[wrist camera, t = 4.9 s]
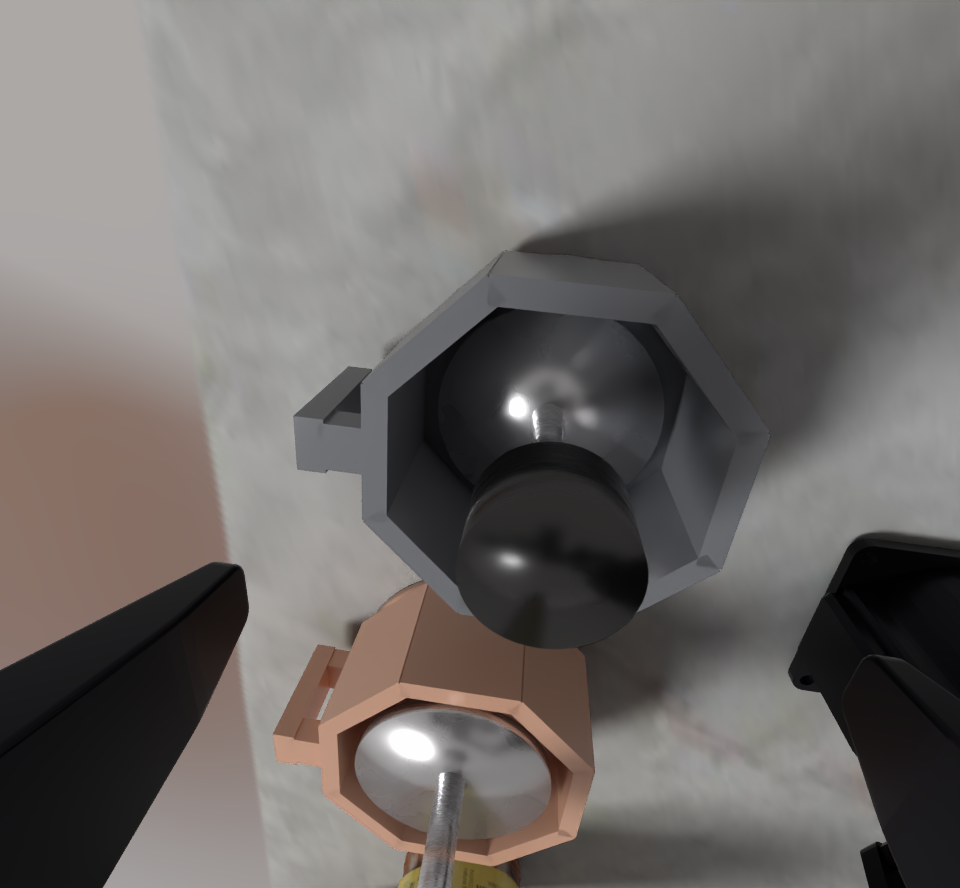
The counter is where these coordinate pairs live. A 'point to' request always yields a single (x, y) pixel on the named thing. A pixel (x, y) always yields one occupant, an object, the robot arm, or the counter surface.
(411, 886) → the sauce bottle
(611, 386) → the coffee tamper
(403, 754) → the black-handled metal tamper
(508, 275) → the grey octagonal cup
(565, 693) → the bowl
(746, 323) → the counter surface
